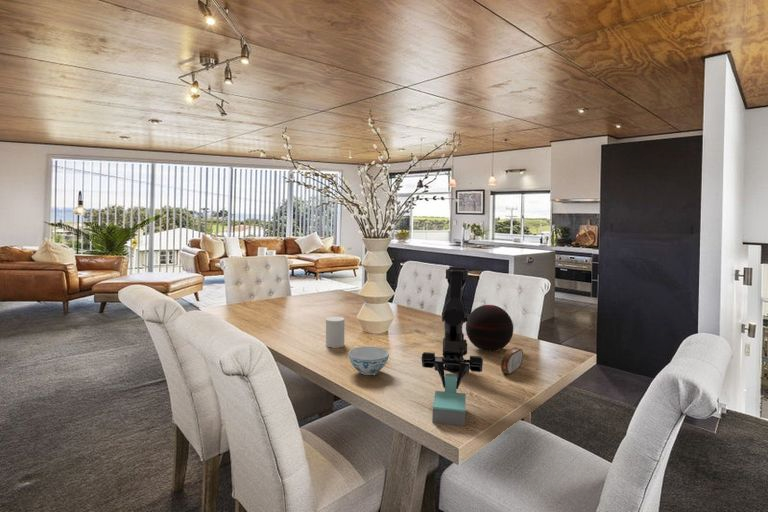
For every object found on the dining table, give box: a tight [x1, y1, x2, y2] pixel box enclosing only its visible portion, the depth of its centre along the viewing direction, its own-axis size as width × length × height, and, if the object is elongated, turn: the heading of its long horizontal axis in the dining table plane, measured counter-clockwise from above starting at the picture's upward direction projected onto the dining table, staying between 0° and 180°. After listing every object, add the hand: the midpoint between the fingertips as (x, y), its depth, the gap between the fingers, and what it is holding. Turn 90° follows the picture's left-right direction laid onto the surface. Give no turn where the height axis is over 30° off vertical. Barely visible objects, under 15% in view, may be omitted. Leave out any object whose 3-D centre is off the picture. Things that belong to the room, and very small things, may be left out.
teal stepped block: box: [432, 373, 467, 413], centre depth 126 cm, size 14×9×10 cm, turn 169°
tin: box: [500, 346, 524, 375], centre depth 163 cm, size 15×3×8 cm, turn 141°
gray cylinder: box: [325, 316, 345, 349], centre depth 191 cm, size 8×8×12 cm
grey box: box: [431, 408, 466, 427], centre depth 125 cm, size 10×9×4 cm
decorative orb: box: [465, 304, 514, 352], centre depth 187 cm, size 20×20×20 cm
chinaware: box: [348, 345, 390, 376], centre depth 159 cm, size 15×15×8 cm
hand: (450, 387), depth 130 cm, fingers closed on teal stepped block, 3 cm apart
